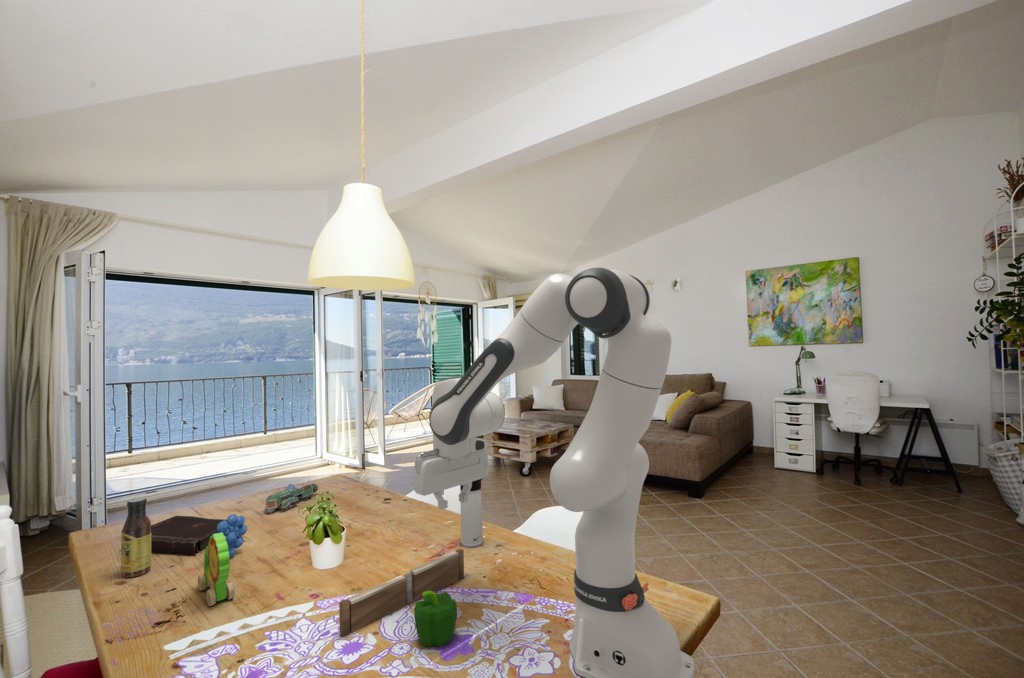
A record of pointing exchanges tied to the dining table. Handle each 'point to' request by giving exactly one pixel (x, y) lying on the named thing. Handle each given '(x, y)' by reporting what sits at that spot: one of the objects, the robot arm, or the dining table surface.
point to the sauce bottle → (136, 540)
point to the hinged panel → (437, 573)
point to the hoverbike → (289, 497)
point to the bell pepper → (435, 618)
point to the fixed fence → (374, 604)
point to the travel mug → (472, 517)
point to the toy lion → (216, 570)
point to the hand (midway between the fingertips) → (453, 504)
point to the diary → (182, 535)
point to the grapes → (233, 532)
